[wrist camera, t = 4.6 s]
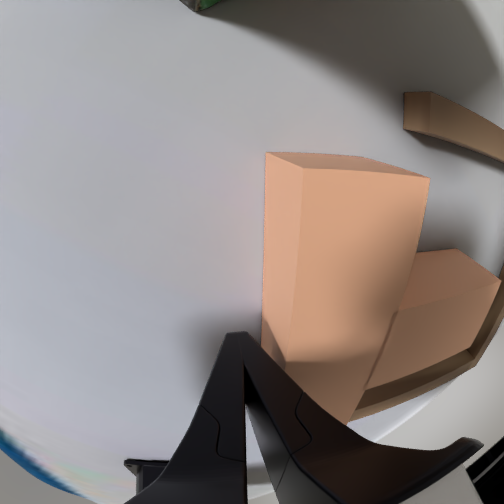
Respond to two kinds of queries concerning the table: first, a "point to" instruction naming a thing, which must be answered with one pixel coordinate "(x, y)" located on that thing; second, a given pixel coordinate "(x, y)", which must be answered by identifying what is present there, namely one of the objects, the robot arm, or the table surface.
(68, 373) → the table surface
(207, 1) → the chalk box
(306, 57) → the table surface
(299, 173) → the t block
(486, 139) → the bay
